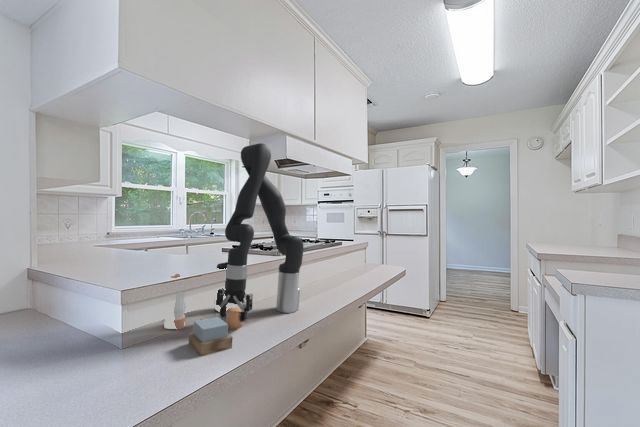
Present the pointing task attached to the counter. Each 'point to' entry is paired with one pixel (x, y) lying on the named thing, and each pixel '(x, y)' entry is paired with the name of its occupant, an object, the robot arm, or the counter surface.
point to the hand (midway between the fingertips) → (232, 319)
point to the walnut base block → (209, 344)
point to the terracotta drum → (234, 318)
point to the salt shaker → (179, 308)
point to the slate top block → (210, 329)
